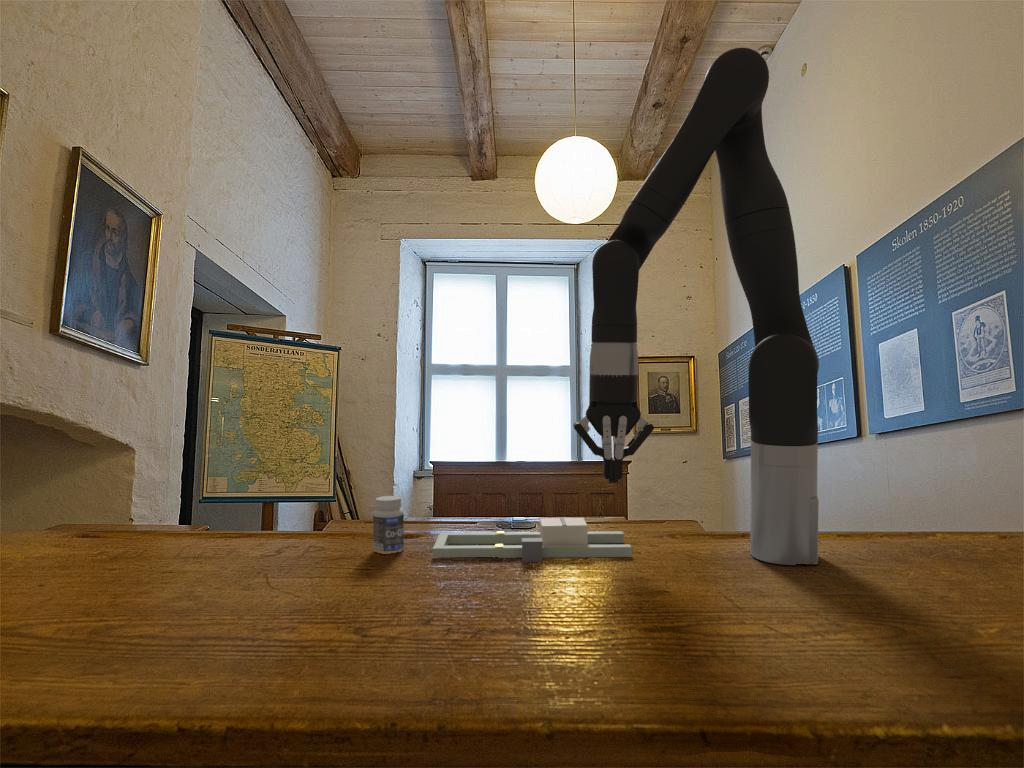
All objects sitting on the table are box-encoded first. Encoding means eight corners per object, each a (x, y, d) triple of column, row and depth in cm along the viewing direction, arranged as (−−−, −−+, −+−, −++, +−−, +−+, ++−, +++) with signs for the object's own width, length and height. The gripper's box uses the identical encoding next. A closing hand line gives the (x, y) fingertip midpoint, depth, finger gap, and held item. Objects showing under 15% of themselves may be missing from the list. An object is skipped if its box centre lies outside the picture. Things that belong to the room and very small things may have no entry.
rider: (583, 545, 110) (583, 517, 109) (587, 554, 105) (587, 524, 104) (540, 546, 109) (539, 517, 109) (542, 555, 104) (542, 525, 104)
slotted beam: (622, 540, 112) (622, 522, 111) (633, 560, 100) (633, 540, 100) (440, 541, 112) (439, 523, 112) (431, 562, 101) (430, 542, 101)
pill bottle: (388, 556, 104) (387, 502, 103) (367, 551, 107) (366, 498, 106) (410, 549, 108) (409, 497, 107) (389, 544, 110) (389, 493, 110)
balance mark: (504, 532, 112) (504, 531, 112) (502, 548, 103) (502, 546, 103) (496, 532, 112) (496, 531, 112) (494, 548, 103) (494, 546, 103)
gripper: (651, 371, 110) (650, 478, 110) (569, 371, 110) (568, 477, 111) (661, 373, 102) (659, 487, 103) (573, 372, 102) (571, 486, 103)
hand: (612, 482), depth 107 cm, fingers closed
